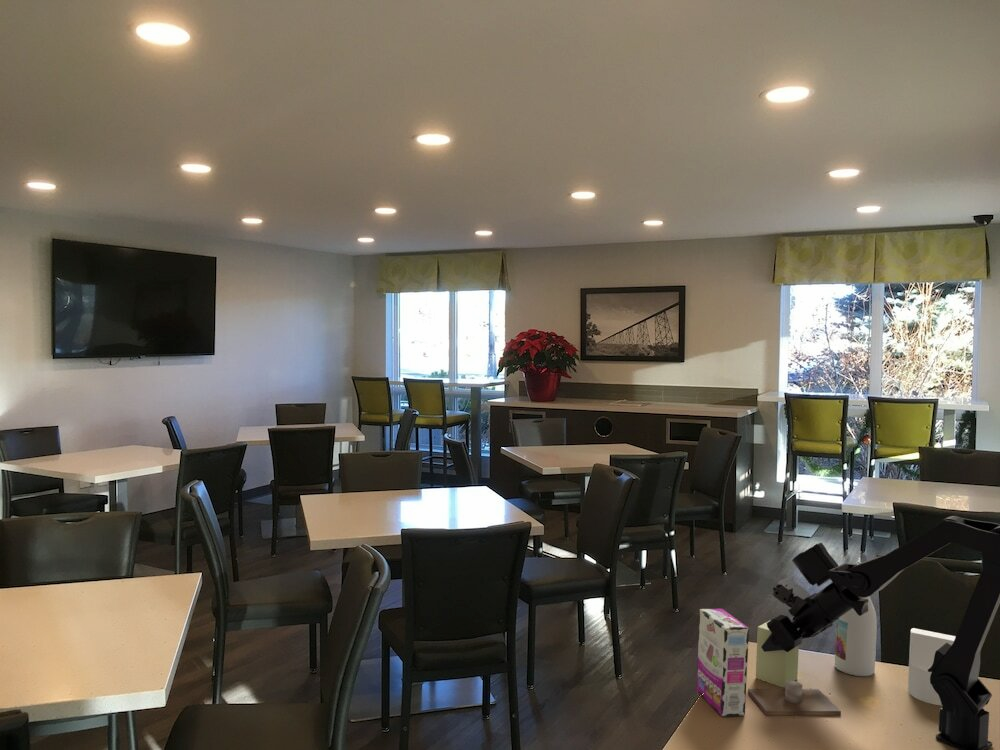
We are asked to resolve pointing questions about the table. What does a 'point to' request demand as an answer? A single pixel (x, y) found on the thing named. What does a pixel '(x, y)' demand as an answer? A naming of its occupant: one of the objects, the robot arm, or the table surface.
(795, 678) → the pale green upright block
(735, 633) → the candy bar box
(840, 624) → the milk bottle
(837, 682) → the table surface
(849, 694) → the table surface
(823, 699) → the walnut stud board
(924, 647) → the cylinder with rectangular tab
